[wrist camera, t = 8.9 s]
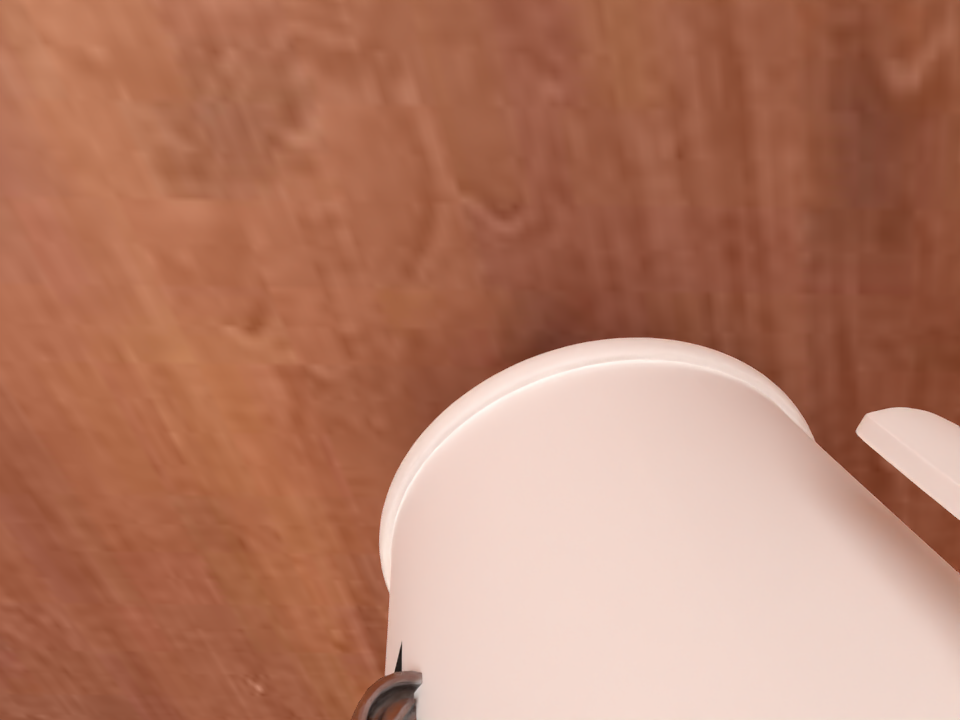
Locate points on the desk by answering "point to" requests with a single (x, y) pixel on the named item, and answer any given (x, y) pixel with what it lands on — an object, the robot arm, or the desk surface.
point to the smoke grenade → (664, 550)
